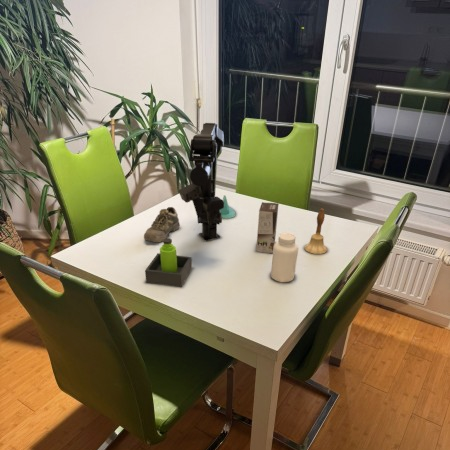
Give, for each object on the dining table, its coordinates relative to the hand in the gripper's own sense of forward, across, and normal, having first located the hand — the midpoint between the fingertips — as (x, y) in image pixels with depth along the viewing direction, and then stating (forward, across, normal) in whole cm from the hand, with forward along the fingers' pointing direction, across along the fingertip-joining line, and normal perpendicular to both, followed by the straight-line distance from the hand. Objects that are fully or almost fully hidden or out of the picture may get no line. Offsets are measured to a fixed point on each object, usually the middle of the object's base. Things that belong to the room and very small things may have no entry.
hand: (204, 220), depth 144 cm
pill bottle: (+13, +27, +16) cm, 34 cm away
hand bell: (+13, +16, +39) cm, 44 cm away
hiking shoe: (+13, -22, -8) cm, 27 cm away
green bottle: (+12, +9, -18) cm, 23 cm away
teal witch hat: (+13, -34, +24) cm, 44 cm away
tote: (+13, +9, -18) cm, 24 cm away
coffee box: (+13, +6, +23) cm, 27 cm away
